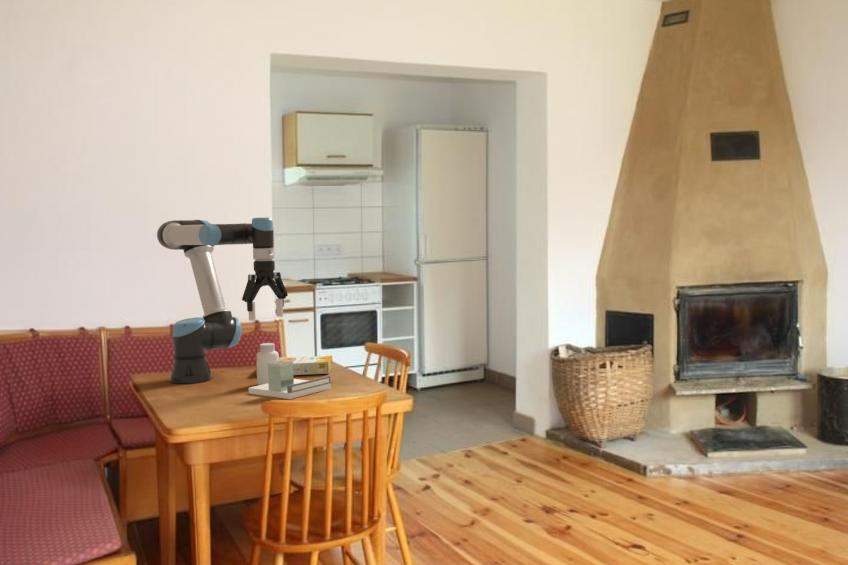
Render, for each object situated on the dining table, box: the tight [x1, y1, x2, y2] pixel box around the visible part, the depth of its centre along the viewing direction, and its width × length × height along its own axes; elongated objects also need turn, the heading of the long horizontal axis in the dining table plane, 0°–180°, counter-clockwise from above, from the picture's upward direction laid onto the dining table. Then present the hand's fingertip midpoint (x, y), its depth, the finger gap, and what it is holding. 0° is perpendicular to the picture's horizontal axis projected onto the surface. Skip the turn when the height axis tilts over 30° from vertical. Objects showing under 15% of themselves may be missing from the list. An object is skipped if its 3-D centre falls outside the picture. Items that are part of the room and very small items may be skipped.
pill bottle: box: [256, 342, 280, 386], centre depth 301 cm, size 8×8×15 cm
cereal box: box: [255, 355, 333, 376], centre depth 328 cm, size 20×6×28 cm
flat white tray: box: [248, 375, 332, 400], centre depth 288 cm, size 20×20×4 cm
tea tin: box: [267, 360, 295, 391], centre depth 282 cm, size 6×6×9 cm
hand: (266, 318), depth 300 cm, fingers open, 13 cm apart
